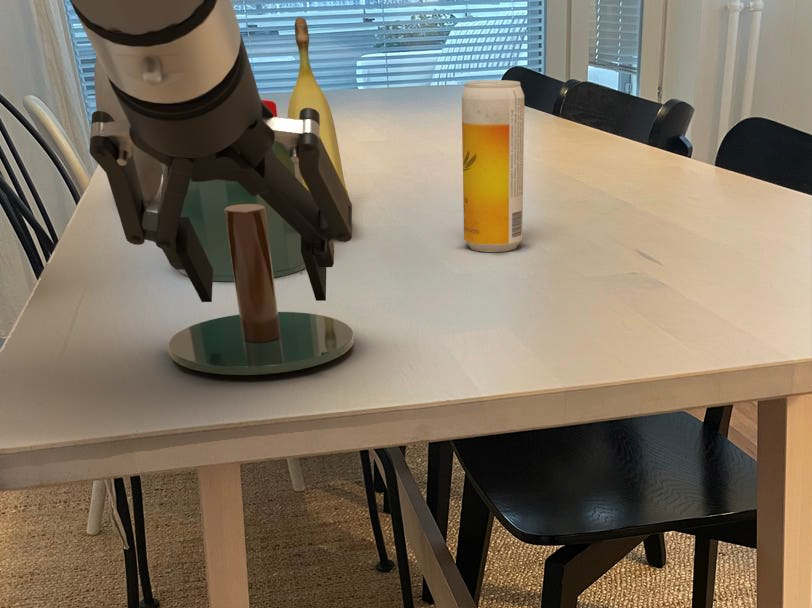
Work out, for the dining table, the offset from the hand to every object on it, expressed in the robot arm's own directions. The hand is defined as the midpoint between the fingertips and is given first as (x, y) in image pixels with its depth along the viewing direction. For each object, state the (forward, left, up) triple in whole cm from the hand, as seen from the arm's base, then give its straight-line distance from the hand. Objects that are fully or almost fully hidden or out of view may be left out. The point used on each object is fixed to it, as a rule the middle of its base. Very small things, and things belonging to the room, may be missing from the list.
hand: (264, 284), depth 75 cm
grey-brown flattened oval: (-31, +56, -4) cm, 64 cm away
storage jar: (-9, +24, -4) cm, 26 cm away
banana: (-5, +43, -4) cm, 43 cm away
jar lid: (0, -3, -4) cm, 5 cm away
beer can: (+15, +33, -4) cm, 36 cm away
